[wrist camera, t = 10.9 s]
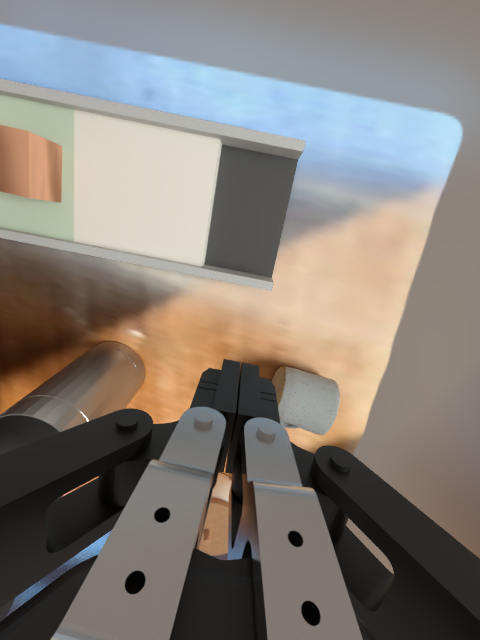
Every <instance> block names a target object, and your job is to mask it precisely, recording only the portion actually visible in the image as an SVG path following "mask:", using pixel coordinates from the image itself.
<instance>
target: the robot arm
mask: <svg viewBox="0 0 480 640" xmlns="http://www.w3.org/2000/svg"><path fill="white" fill-rule="evenodd" d="M240 364H241V362H237V361H232V360H226V359H224V361H223V365H222V370H217V369H212V368H209V369H207V370H206V371H205V372H203V373H202V375H201V378H200V381H199V384H198V387H197V389H196V392H195V395H194V398H193V401H192V404H191V406H190V409H188V410H187V411H185V412H184V413H183V414H182V416H181V418H180V420H178V421H175V422H172V423H165V424H153V420H152V418H151V416H150V415H149V414H147V413H146V412H144V411H142V410H138V409H125V408H126V406H127V405H128V403H129V402H130V401H131V399H132V398H133V397H134V395H135V394H136V392H137V391H138V390H139V388H140V387H141V385H142V384H143V381H144V378H145V369H144V365H143V363H142V360H141V359H140V357H139V356H138V355H137V354H136V352H135V351H134V350H132V349H131V348H129V347H128V346H126V345H124V344H121V343H117V342H102V343H100V344H97V345H96V346H94V347H93V348H91V349H90V350H88V351H87V352H86V353H84V354H83V355H82V356H80V357H79V358H77V359H76V360H74V361H73V362H72V363H70V364H69V365H68V366H66V367H65V368H64V369H62V370H61V371H59V372H58V373H57V374H55V375H54V376H53V377H51V378H50V379H48V380H47V381H46V382H44V383H43V384H42V385H40V386H39V387H38V388H36V389H35V390H33V391H32V392H31V393H29V394H28V395H27V396H25V397H24V398H22V399H21V400H20V401H19V402H17V403H16V404H15V405H13V406H12V407H10V408H9V409H8V410H6V411H5V412H4V413H2V414H1V415H0V640H480V559H479V558H478V557H477V556H476V555H474V554H473V553H472V552H471V551H469V550H468V549H467V548H466V547H465V546H463V545H462V544H461V543H460V542H458V541H457V540H456V539H455V538H453V537H452V536H451V535H450V534H449V533H447V532H446V531H445V530H444V529H443V528H441V527H440V526H439V525H438V524H436V523H435V522H434V521H433V520H431V519H430V518H429V517H428V516H427V515H425V514H424V513H423V512H422V511H420V510H419V509H418V508H417V507H416V506H414V505H413V504H412V503H410V502H409V501H408V500H407V499H406V498H405V497H403V496H402V495H401V494H399V493H398V492H397V491H396V490H395V489H393V488H392V487H391V486H390V485H389V484H387V483H386V482H385V481H384V480H383V479H381V478H380V477H379V476H378V475H376V474H375V473H374V472H373V471H371V470H370V469H369V468H368V467H367V466H365V465H364V464H363V463H362V462H361V461H359V460H358V459H357V458H356V457H354V456H353V455H352V454H350V453H349V452H347V451H346V450H344V449H341V448H339V447H335V446H322V447H320V448H318V449H317V451H316V453H315V454H313V453H311V452H308V451H306V450H304V449H302V448H300V447H298V446H296V445H294V444H293V443H292V442H290V439H289V436H288V433H287V431H286V430H285V428H284V427H283V426H282V425H280V417H279V410H278V403H277V396H276V389H275V386H274V385H273V383H272V382H271V381H270V379H265V378H260V377H259V365H253V364H248V363H243V362H242V364H241V368H240ZM227 453H228V454H227ZM226 458H227V463H226V473H231V474H232V483H231V487H230V492H229V510H228V560H219V559H217V558H214V557H212V556H210V555H208V554H206V553H204V552H202V551H200V550H199V546H200V542H201V538H202V534H203V530H204V525H205V521H206V517H207V513H208V509H209V505H210V501H211V496H212V492H213V488H214V487H215V485H216V482H217V478H218V473H219V471H220V472H224V467H225V462H226ZM97 476H99V478H97V479H95V480H93V481H91V482H90V483H88V484H86V485H84V486H82V487H80V488H78V489H77V490H75V491H73V492H71V493H69V494H67V495H65V496H63V494H65V493H67V492H69V491H71V490H73V489H75V488H76V487H78V486H80V485H82V484H84V483H86V482H88V481H90V480H91V479H93V478H95V477H97ZM62 496H63V497H62ZM61 497H62V498H61ZM348 519H350V520H352V521H353V523H354V524H355V525H356V526H357V527H358V528H359V529H360V530H361V531H362V532H363V533H364V534H365V535H366V536H367V537H368V538H369V539H370V540H371V541H372V542H373V543H374V544H375V545H376V546H377V547H378V548H379V549H380V550H381V551H382V552H383V553H384V554H385V555H386V557H387V558H388V559H389V561H390V563H391V565H392V567H393V571H394V574H392V573H391V572H390V571H389V570H388V569H386V567H385V566H384V565H383V564H382V563H381V562H380V561H379V560H378V559H377V558H376V557H375V556H374V555H373V554H372V553H371V552H370V551H369V550H368V548H366V546H365V545H364V544H363V543H362V542H361V541H360V540H359V539H358V538H357V537H356V536H355V535H354V534H353V533H352V532H351V531H350V530H349V528H348V527H347V526H346V523H347V521H348ZM112 529H113V530H112ZM111 530H112V531H111ZM109 531H111V533H110V535H109V537H108V539H107V540H106V542H105V544H104V546H103V548H102V550H101V551H100V553H99V555H96V556H94V557H92V558H90V559H88V560H85V561H83V562H81V563H80V564H78V565H76V566H75V567H73V568H72V569H70V570H68V571H67V572H65V573H64V574H63V575H61V576H60V577H59V578H57V579H56V580H55V581H53V582H52V583H51V584H49V585H48V586H47V587H45V588H44V589H43V590H41V591H40V592H39V593H38V594H36V595H35V596H34V597H32V598H31V599H30V600H28V601H27V602H26V603H24V604H23V605H22V606H20V607H19V608H18V609H16V610H15V611H14V612H13V613H11V614H10V615H9V616H7V617H6V615H7V613H8V611H9V609H10V607H11V606H12V603H13V601H14V599H15V597H16V596H18V595H19V594H20V593H22V592H23V591H25V590H26V589H28V588H29V587H30V586H32V585H33V584H35V583H36V582H38V581H39V580H41V579H42V578H43V577H45V576H46V575H48V574H49V573H51V572H52V571H53V570H55V569H56V568H58V567H59V566H61V565H62V564H63V563H65V562H66V561H68V560H69V559H71V558H72V557H73V556H75V555H76V554H78V553H79V552H81V551H82V550H83V549H85V548H86V547H88V546H89V545H91V544H92V543H93V542H95V541H96V540H98V539H99V538H101V537H102V536H103V535H105V534H106V533H108V532H109ZM5 617H6V618H5Z"/></svg>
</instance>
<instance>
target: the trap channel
mask: <svg viewBox="0 0 480 640" xmlns="http://www.w3.org/2000/svg"><path fill="white" fill-rule="evenodd" d="M0 95H5V96H10V97H15V98H20V99H25V100H30V101H35V102H40V103H45V104H50V105H55V106H60V107H65V108H70V109H74V242H73V241H68V240H63V239H58V238H53V237H48V236H43V235H37V234H32V233H27V232H22V231H17V230H12V229H7V228H1V227H0V238H4V239H9V240H14V241H19V242H24V243H29V244H35V245H40V246H45V247H50V248H55V249H60V250H65V251H71V252H76V253H81V254H86V255H91V256H96V257H101V258H107V259H112V260H117V261H122V262H127V263H132V264H138V265H143V266H148V267H153V268H158V269H163V270H168V271H174V272H179V273H184V274H189V275H194V276H199V277H204V278H210V279H215V280H220V281H225V282H230V283H235V284H240V285H246V286H251V287H256V288H261V289H266V290H271V291H272V287H273V283H274V282H273V280H272V274H273V269H274V265H275V260H276V256H277V251H278V247H279V242H280V238H281V233H282V229H283V224H284V220H285V215H286V211H287V207H288V202H289V198H290V193H291V189H292V184H293V180H294V175H295V171H296V166H297V162H298V159H299V157H300V156H301V154H302V153H303V150H304V146H305V141H304V140H299V139H295V138H290V137H285V136H280V135H275V134H270V133H265V132H260V131H255V130H250V129H245V128H240V127H235V126H230V125H226V124H221V123H216V122H211V121H206V120H201V119H196V118H191V117H186V116H181V115H176V114H171V113H166V112H162V111H157V110H152V109H147V108H142V107H137V106H132V105H127V104H122V103H117V102H112V101H107V100H102V99H97V98H93V97H88V96H83V95H78V94H73V93H68V92H63V91H58V90H53V89H48V88H43V87H38V86H33V85H29V84H24V83H19V82H14V81H9V80H4V79H0Z"/></svg>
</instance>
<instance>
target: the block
mask: <svg viewBox="0 0 480 640" xmlns="http://www.w3.org/2000/svg"><path fill="white" fill-rule="evenodd" d="M0 192H5V193H9V194H14V195H18V196H22V197H27V198H32V199H39V200H46V201H53V202H60V203H61V195H62V146H61V145H59V144H56V143H54V142H52V141H50V140H47V139H45V138H43V137H41V136H38V135H36V134H34V133H31V132H29V131H26V130H21V129H17V128H13V127H8V126H4V125H0Z"/></svg>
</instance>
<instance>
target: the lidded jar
mask: <svg viewBox="0 0 480 640" xmlns="http://www.w3.org/2000/svg"><path fill="white" fill-rule="evenodd" d="M231 483H232V480H230V478H229V477H228V476H226V475H225V474H223V473H220V472H219V473H218V478H217V482H216V485H215V487H214V488H213V492H212V496H211V501H210V505H209V509H208V513H207V517H206V521H205V525H204V530H203V534H202V538H201V542H200V546H199V550H200V551H202V552H204V553H206V554H208V555H222V554H225V553H228V510H229V492H230V487H231Z"/></svg>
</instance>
